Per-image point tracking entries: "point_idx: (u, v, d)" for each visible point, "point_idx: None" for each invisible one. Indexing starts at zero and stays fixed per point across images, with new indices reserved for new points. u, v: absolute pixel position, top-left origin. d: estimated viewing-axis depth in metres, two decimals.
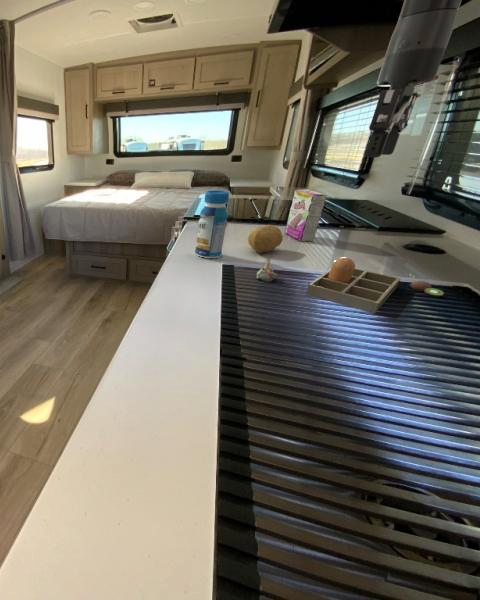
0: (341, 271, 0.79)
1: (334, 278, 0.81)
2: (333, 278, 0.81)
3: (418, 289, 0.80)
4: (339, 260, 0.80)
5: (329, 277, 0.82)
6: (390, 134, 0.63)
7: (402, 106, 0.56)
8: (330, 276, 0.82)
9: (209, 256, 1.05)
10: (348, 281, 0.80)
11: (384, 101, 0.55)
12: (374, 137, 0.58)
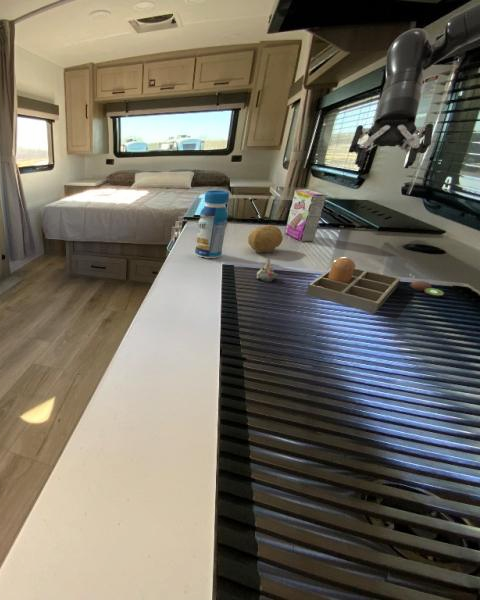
0: (341, 271, 0.79)
1: (334, 278, 0.81)
2: (333, 278, 0.81)
3: (418, 289, 0.80)
4: (339, 260, 0.80)
5: (329, 277, 0.82)
6: None
7: None
8: (330, 276, 0.82)
9: (209, 256, 1.05)
10: (348, 281, 0.80)
11: None
12: None
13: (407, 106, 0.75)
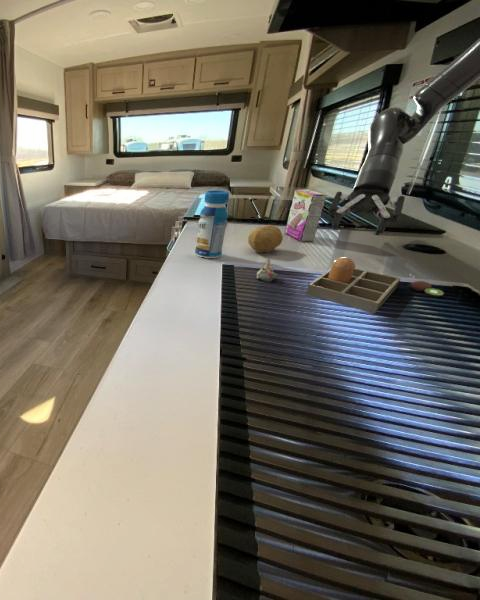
0: (341, 271, 0.79)
1: (334, 278, 0.81)
2: (333, 278, 0.81)
3: (418, 289, 0.80)
4: (339, 260, 0.80)
5: (329, 277, 0.82)
6: None
7: (353, 200, 0.85)
8: (330, 276, 0.82)
9: (209, 256, 1.05)
10: (348, 281, 0.80)
11: None
12: None
13: (381, 178, 0.82)
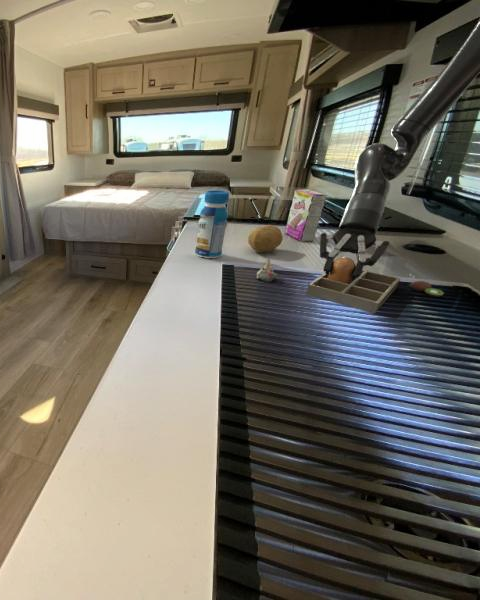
0: (341, 271, 0.79)
1: (334, 278, 0.81)
2: (333, 278, 0.81)
3: (418, 289, 0.80)
4: (339, 260, 0.80)
5: (329, 277, 0.82)
6: None
7: (339, 241, 0.82)
8: (330, 276, 0.82)
9: (209, 256, 1.05)
10: (348, 281, 0.80)
11: (320, 242, 0.86)
12: (326, 261, 0.83)
13: (367, 218, 0.79)
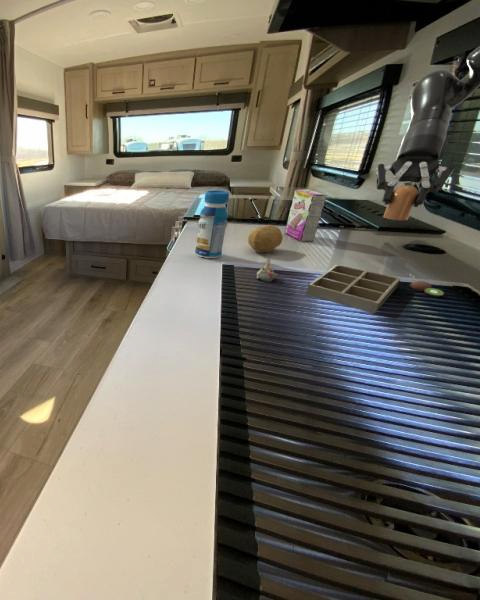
0: (403, 198, 0.77)
1: (394, 207, 0.78)
2: (393, 208, 0.79)
3: (418, 289, 0.80)
4: (400, 188, 0.77)
5: (388, 207, 0.80)
6: None
7: (399, 169, 0.79)
8: (390, 206, 0.79)
9: (209, 256, 1.05)
10: (410, 210, 0.78)
11: (376, 174, 0.83)
12: None
13: (430, 144, 0.76)
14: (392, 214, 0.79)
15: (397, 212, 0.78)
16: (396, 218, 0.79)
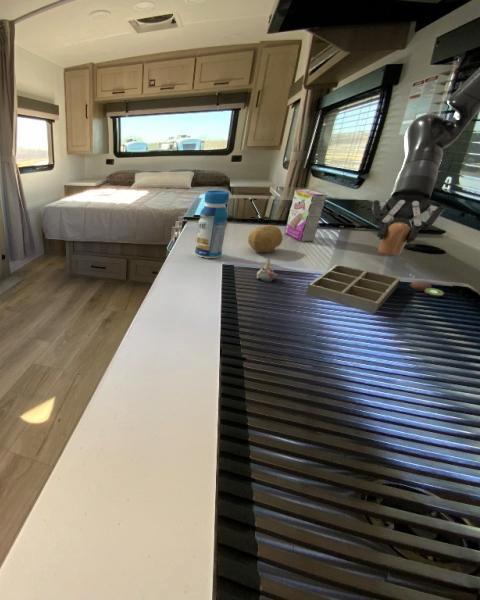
0: (396, 235, 0.83)
1: (388, 243, 0.84)
2: (387, 243, 0.84)
3: (418, 289, 0.80)
4: (394, 225, 0.83)
5: (383, 242, 0.85)
6: None
7: (393, 207, 0.85)
8: (384, 241, 0.85)
9: (209, 256, 1.05)
10: (402, 245, 0.83)
11: (372, 209, 0.89)
12: None
13: (422, 184, 0.82)
14: (386, 249, 0.85)
15: (391, 247, 0.84)
16: (390, 252, 0.85)
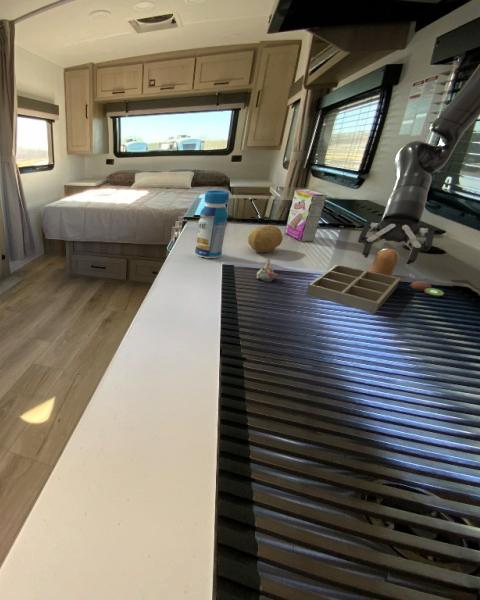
0: (385, 261, 0.86)
1: (378, 268, 0.87)
2: (377, 268, 0.87)
3: (418, 289, 0.80)
4: (383, 251, 0.86)
5: (373, 267, 0.89)
6: None
7: (383, 229, 0.88)
8: (374, 266, 0.88)
9: (209, 256, 1.05)
10: (391, 271, 0.86)
11: None
12: (364, 246, 0.90)
13: (411, 209, 0.85)
14: None
15: (380, 272, 0.87)
16: None
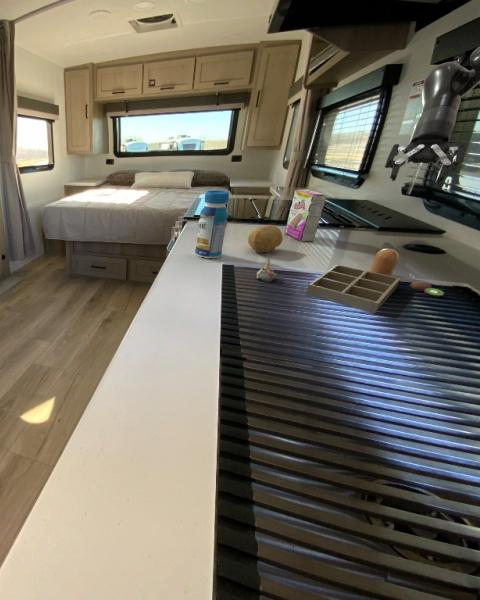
0: (385, 261, 0.86)
1: (378, 268, 0.87)
2: (377, 268, 0.87)
3: (418, 289, 0.80)
4: (383, 251, 0.86)
5: (373, 267, 0.89)
6: None
7: (411, 150, 0.88)
8: (374, 266, 0.88)
9: (209, 256, 1.05)
10: (391, 271, 0.86)
11: None
12: (392, 169, 0.90)
13: (441, 128, 0.84)
14: None
15: (380, 272, 0.87)
16: None
